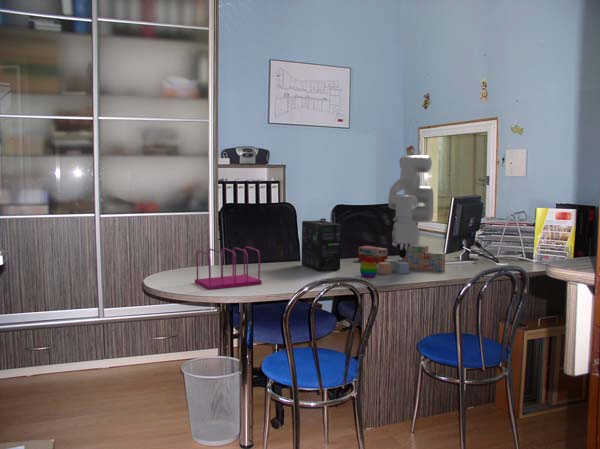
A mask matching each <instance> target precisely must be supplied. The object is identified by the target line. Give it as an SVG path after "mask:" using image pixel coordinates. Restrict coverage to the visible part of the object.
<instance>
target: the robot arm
mask: <svg viewBox="0 0 600 449" xmlns="http://www.w3.org/2000/svg"><path fill="white" fill-rule="evenodd" d="M398 160H399V162H398V163H399V168H400V175H399V176H400V177H399V179H397V180H396V181H395V182H394V183H393V184H392V185H391V187H390V189H389V193H388V199H387V201H388V202H387V203H388V207H389V208H390V209H392V210H395V217H393V219H392V221H394V224H393V229H392V234H391V238H392V240H391V241H392V243H391V244H392V246H394V247H396V248H398V249H397V250H398V255H399V256H398V257H399V260H398V261H399V262H402V258H405V256H406V250H407V248H408V247H409V246H412V245H420V239H421V238H420V236H421V235H420V232H421V231H420V228H419V226H418V225H417V224H416V223H423V224H424V223H426V224H427V223H432V221H433V218H434V190H433V188H432V187H430V186H429V185H428V186H426V185H424V186H423V185H422V186H421V177H420V175H419V173H423V174H424V173H428V172H430V171H431V168H432V164H433V163H432V162H433V161H432V157H431V156H430V155H403V156H401V157H400V158H399V159H398ZM403 190H404V194H401V193H400V194H398V193H399V192H401V191H403ZM418 204H423V205H418ZM402 245H403V246H402Z"/></svg>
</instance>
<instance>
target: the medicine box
mask: <svg viewBox="0 0 600 449" xmlns="http://www.w3.org/2000/svg"><path fill="white" fill-rule="evenodd" d="M366 257H372V258H373V259H374V260H375V262H376V264H377V265H378V262H385V260H386V259H388V248H383V247H378V246H377V247H376V246H369V245H363V246H359V247H358V261H360V262H362V261H363V260H364V259H365V258H366Z"/></svg>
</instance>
